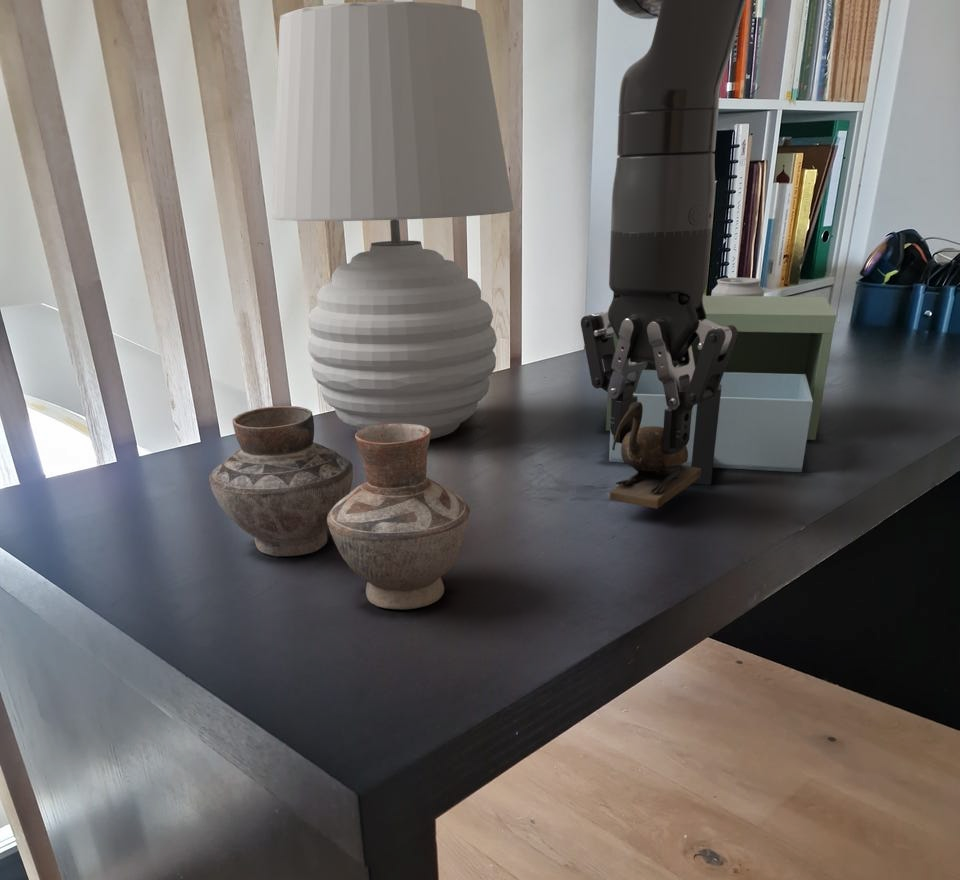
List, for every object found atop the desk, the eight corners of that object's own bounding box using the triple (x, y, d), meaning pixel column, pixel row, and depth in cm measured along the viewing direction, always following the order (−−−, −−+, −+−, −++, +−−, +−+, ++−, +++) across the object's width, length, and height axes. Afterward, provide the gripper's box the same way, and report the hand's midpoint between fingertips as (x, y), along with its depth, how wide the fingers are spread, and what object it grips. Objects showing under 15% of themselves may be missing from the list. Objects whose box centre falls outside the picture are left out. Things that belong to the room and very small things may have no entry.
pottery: (392, 643, 56) (377, 466, 50) (196, 547, 71) (167, 402, 66) (508, 587, 63) (507, 426, 57) (307, 510, 78) (290, 377, 73)
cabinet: (815, 440, 94) (836, 315, 88) (605, 430, 99) (611, 312, 93) (807, 409, 106) (825, 296, 99) (620, 402, 111) (626, 295, 105)
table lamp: (403, 478, 86) (367, -17, 67) (257, 435, 101) (194, 23, 82) (558, 424, 102) (565, 13, 83) (412, 395, 117) (390, 42, 98)
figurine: (636, 525, 69) (641, 417, 65) (586, 516, 71) (588, 411, 67) (701, 476, 79) (710, 379, 75) (655, 469, 81) (661, 375, 77)
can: (764, 362, 131) (775, 277, 125) (740, 370, 126) (750, 282, 120) (719, 356, 135) (728, 274, 130) (695, 364, 131) (703, 279, 125)
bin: (804, 490, 80) (820, 392, 75) (601, 478, 84) (605, 385, 80) (795, 439, 95) (808, 354, 90) (623, 431, 99) (627, 350, 95)
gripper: (773, 221, 62) (746, 452, 71) (617, 219, 71) (609, 423, 80) (715, 229, 58) (694, 474, 66) (557, 225, 67) (555, 441, 75)
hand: (647, 445), depth 73 cm, fingers closed on figurine, 4 cm apart
